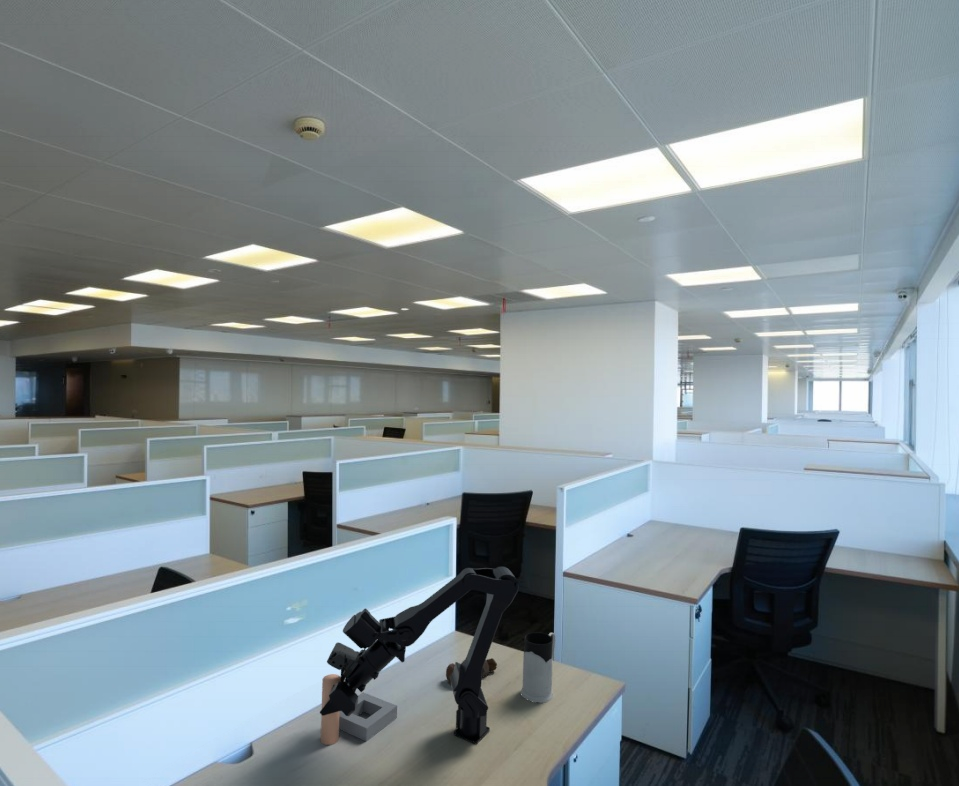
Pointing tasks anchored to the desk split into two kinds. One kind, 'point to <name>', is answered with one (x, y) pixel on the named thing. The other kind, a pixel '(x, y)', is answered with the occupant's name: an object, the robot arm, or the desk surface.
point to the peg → (330, 720)
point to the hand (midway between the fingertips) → (324, 706)
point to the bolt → (488, 666)
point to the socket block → (376, 722)
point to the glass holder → (538, 667)
